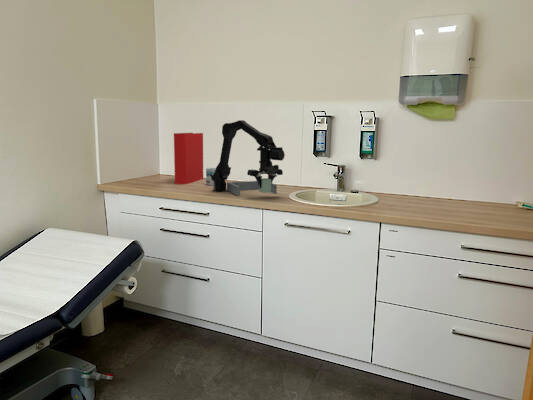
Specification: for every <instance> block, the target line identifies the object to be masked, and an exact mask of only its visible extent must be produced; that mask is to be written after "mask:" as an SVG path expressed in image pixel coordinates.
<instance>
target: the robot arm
mask: <svg viewBox="0 0 533 400" xmlns="http://www.w3.org/2000/svg"><path fill="white" fill-rule="evenodd" d="M221 128H222V129H221V130H222V131H221V134H222V138H223V142H222V146H221V147H222V148H221V153H220V158H219V163H218V164H217V166H216V170H215V173H214V174H213V175H212V176H211V179H212V181H214V186H213V188H212V190H213V191H214V192H227V182H226V181H227V180H228V178H229V176H230V175H231V170H232V167H231V166H229V159H230V154H231V150H232V142H233V139H234V138H235V137H236V135H237V132H238V131H240V130H242V131H243V132H244V133H247V135H249V136H250V137H252V138H253V139H254V140H255V141H256V143H257V144H258V145H259V147H258V148H257V149H256V151H260V152H259V153H260V154H259V161H258V163H259V168H258V169H248V170H247V175H248V176H250V177H254V178H255V181H257V182H258V185H259V187H260V188H261V179H262V178H263V176H262V175H267V178H268V179H271V184H272V183H273V181H274V180H275V178H277V177H278V176H282V175H283V173H284V172H283V170H282V169H280V165H279V164H274V165H273V161H283V160H284V159H285V154H286V153H285V152H284V150H283V147H282V146H281V147H280V146H279V147H277V145H276V143H275V142H274V139H273V138H274V137H272V135H269V134H266V133H264V132H261V131H259V130H258V129H257V128H255V127H253V126H252V125H250V123H248V122H247V121H245V120H242V119H241V120H240V119H239V120H236V121H233V122H226V123H224V124H223V125H222V127H221Z"/></svg>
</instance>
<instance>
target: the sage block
mask: <svg viewBox="0 0 533 400" xmlns="http://www.w3.org/2000/svg"><path fill="white" fill-rule="evenodd" d="M258 192H259V193H261V194H262V193H264V194H265V193H272V192H271V179H268V177H266V178H265V177H262V178H261V188H260V187H259V189H258Z"/></svg>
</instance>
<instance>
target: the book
mask: <svg viewBox="0 0 533 400" xmlns="http://www.w3.org/2000/svg"><path fill="white" fill-rule="evenodd" d="M173 155H174V157H173V158H174V163H173V164H174V184H175V185H188V184H192V183H194V182H198V181H201V180H204V133H203V132H198V133H197V132H195V133H193V132H176V133H173Z"/></svg>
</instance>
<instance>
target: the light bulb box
mask: <svg viewBox="0 0 533 400" xmlns="http://www.w3.org/2000/svg"><path fill="white" fill-rule="evenodd" d="M216 167H217V166H216ZM216 167H207V168H205V174H206V175H205V180H206V181H205V184H206V186H212V187H214V181H212V179H211V176H212V175H213V174H214V173H215V170H216Z"/></svg>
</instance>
